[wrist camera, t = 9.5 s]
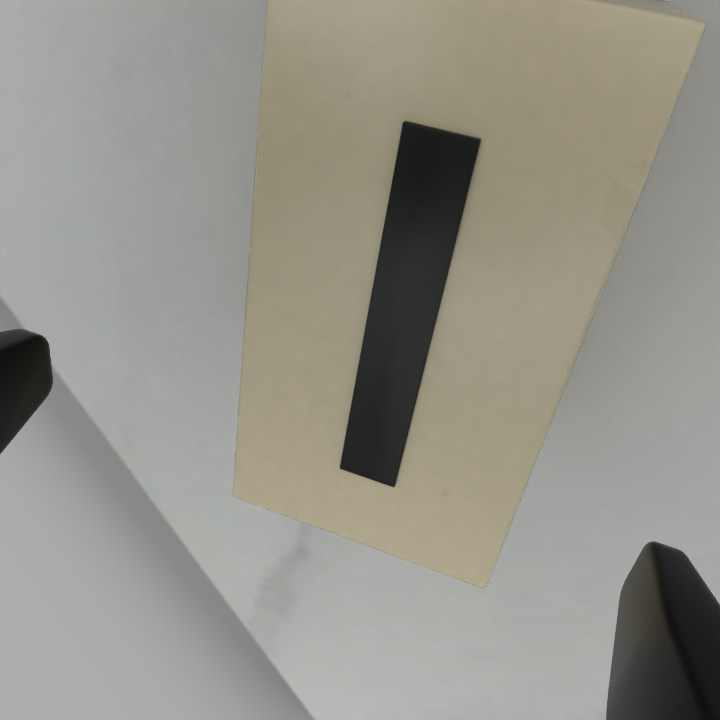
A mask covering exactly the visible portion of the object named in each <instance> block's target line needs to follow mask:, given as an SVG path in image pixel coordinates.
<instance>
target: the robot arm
mask: <svg viewBox="0 0 720 720" xmlns="http://www.w3.org/2000/svg"><path fill="white" fill-rule="evenodd" d="M52 384H53V375H52V366H51V358H50V349H49V343H48V341H47V340H46V338H45V337H43V336H42V335H39V334H36V333H33V332H30V331H27V330H24V329H14V330H9V331H4V332H0V454H1V453H2V451H3V450H4V449H5V447H6V446H7V445H8V444H9V443H10V441H11V440H12V439H13V438H14V437H15V435H16V434H17V433H18V432H19V431H20V429H21V428H22V427H23V426H24V424H25V423H26V422H27V421H28V419H29V418H30V417H31V416H32V415H33V413H34V412H35V411H36V410H37V408H38V407H39V406H40V405H41V404H42V402H43V401H44V400H45V399H46V398H47V396H48V395H49V392H50V391H51V388H52ZM606 720H720V604H719V603H718V601H717V600H716V598H715V597H714V595H713V594H712V592H711V591H710V590H709V588H708V587H707V585H706V584H705V582H704V581H703V579H702V578H701V576H700V575H699V573H698V572H697V570H696V569H695V567H694V566H693V565H692V563H691V562H690V560H689V559H688V557H687V556H686V555H685V554H684V553H683V552H682V551H680V550H678V549H676V548H673V547H670V546H667V545H664V544H661V543H658V542H654V541H653V542H649V543H648V544H646V545H645V546H644V548H643V550H642V551H641V553H640V555H639V557H638V559H637V560H636V562H635V564H634V566H633V568H632V569H631V571H630V573H629V575H628V577H627V578H626V580H625V582H624V585H623V587H622V591H621V595H620V600H619V608H618V616H617V624H616V633H615V641H614V649H613V657H612V666H611V674H610V682H609V691H608V701H607V715H606Z"/></svg>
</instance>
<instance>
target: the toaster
mask: <svg viewBox="0 0 720 720" xmlns="http://www.w3.org/2000/svg"><path fill="white" fill-rule="evenodd" d="M705 28H706V22H704V21H703V20H701V19H699V18H697V17H695V16H693V15H691V14H689V13H687V12H685V11H683V10H681V9H679V8H677V7H675V6H673V5H671V4H669V3H667V2H664V1H658V0H267V10H266V25H265V39H264V53H263V68H262V82H261V96H260V111H259V125H258V140H257V154H256V168H255V183H254V197H253V211H252V226H251V240H250V254H249V269H248V283H247V297H246V312H245V326H244V340H243V355H242V369H241V384H240V398H239V412H238V427H237V441H236V455H235V470H234V484H233V496H234V497H236V498H238V499H241V500H244V501H247V502H249V503H252V504H255V505H257V506H260V507H263V508H266V509H268V510H271V511H274V512H277V513H279V514H282V515H285V516H287V517H290V518H293V519H296V520H298V521H301V522H304V523H307V524H309V525H312V526H315V527H317V528H320V529H323V530H326V531H328V532H331V533H334V534H336V535H339V536H342V537H345V538H347V539H350V540H353V541H356V542H358V543H361V544H364V545H366V546H369V547H372V548H375V549H377V550H380V551H383V552H386V553H388V554H391V555H394V556H396V557H399V558H402V559H405V560H407V561H410V562H413V563H416V564H418V565H421V566H424V567H426V568H429V569H432V570H435V571H437V572H440V573H443V574H446V575H448V576H451V577H454V578H456V579H459V580H462V581H465V582H467V583H470V584H473V585H475V586H478V587H481V588H485V587H486V586H487V584H488V581H489V579H490V576H491V574H492V571H493V569H494V566H495V564H496V561H497V559H498V556H499V553H500V551H501V548H502V546H503V543H504V541H505V538H506V536H507V533H508V530H509V528H510V525H511V523H512V520H513V518H514V515H515V513H516V510H517V508H518V505H519V502H520V500H521V497H522V495H523V492H524V490H525V487H526V485H527V482H528V479H529V477H530V474H531V472H532V469H533V467H534V464H535V462H536V459H537V457H538V454H539V451H540V449H541V446H542V444H543V441H544V439H545V436H546V434H547V431H548V428H549V426H550V423H551V421H552V418H553V416H554V413H555V411H556V408H557V406H558V403H559V400H560V398H561V395H562V393H563V390H564V388H565V385H566V383H567V380H568V378H569V375H570V372H571V370H572V367H573V365H574V362H575V360H576V357H577V355H578V352H579V349H580V347H581V344H582V342H583V339H584V337H585V334H586V332H587V329H588V327H589V324H590V321H591V319H592V316H593V314H594V311H595V309H596V306H597V304H598V301H599V298H600V296H601V293H602V291H603V288H604V286H605V283H606V281H607V278H608V276H609V273H610V270H611V268H612V265H613V263H614V260H615V258H616V255H617V253H618V250H619V247H620V245H621V242H622V240H623V237H624V235H625V232H626V230H627V227H628V225H629V222H630V219H631V217H632V214H633V212H634V209H635V207H636V204H637V202H638V199H639V197H640V194H641V191H642V189H643V186H644V184H645V181H646V179H647V176H648V174H649V171H650V168H651V166H652V163H653V161H654V158H655V156H656V153H657V151H658V148H659V146H660V143H661V140H662V138H663V135H664V133H665V130H666V128H667V125H668V123H669V120H670V117H671V115H672V112H673V110H674V107H675V105H676V102H677V100H678V97H679V95H680V92H681V89H682V87H683V84H684V82H685V79H686V77H687V74H688V72H689V69H690V67H691V64H692V61H693V59H694V56H695V54H696V51H697V49H698V46H699V44H700V41H701V38H702V36H703V33H704V31H705Z"/></svg>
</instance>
